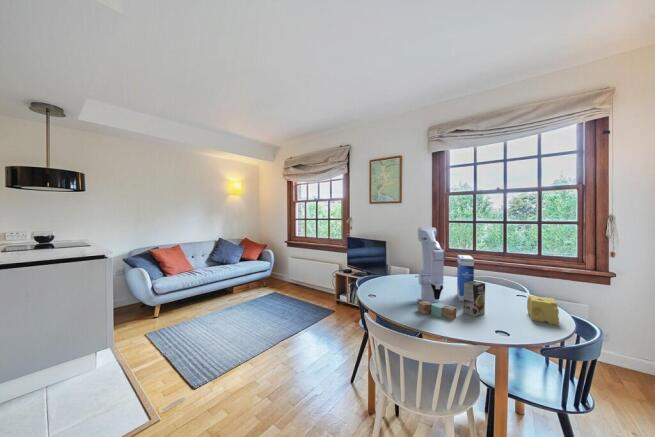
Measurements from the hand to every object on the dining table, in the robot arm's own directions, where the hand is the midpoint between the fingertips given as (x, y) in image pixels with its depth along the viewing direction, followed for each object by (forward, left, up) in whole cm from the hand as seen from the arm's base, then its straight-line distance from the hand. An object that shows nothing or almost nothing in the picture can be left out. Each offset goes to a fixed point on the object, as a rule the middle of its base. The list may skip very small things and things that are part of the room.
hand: (436, 298), depth 128 cm
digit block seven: (-3, +5, -8) cm, 10 cm away
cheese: (-44, +25, -8) cm, 51 cm away
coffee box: (-19, +7, -8) cm, 22 cm away
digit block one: (+4, -4, -8) cm, 10 cm away
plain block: (0, +1, -8) cm, 8 cm away
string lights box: (-34, -10, -8) cm, 37 cm away
